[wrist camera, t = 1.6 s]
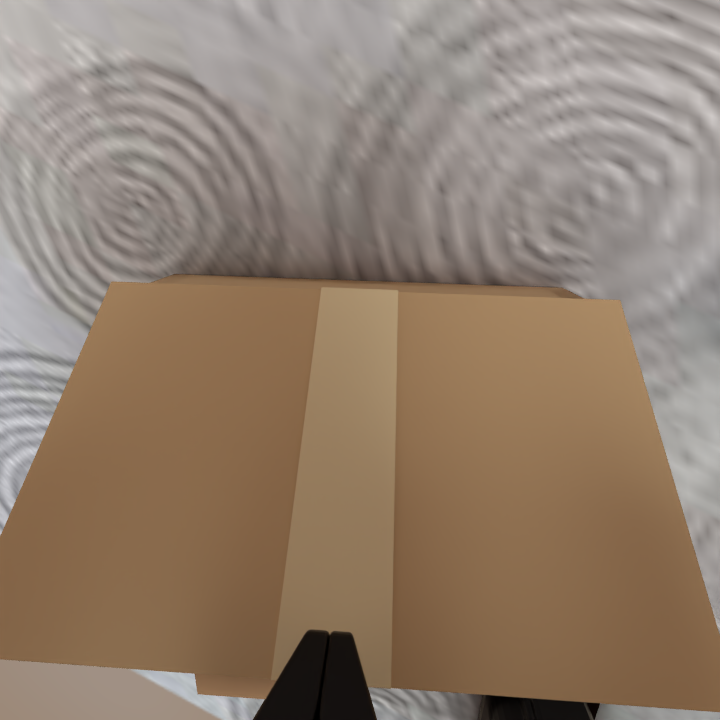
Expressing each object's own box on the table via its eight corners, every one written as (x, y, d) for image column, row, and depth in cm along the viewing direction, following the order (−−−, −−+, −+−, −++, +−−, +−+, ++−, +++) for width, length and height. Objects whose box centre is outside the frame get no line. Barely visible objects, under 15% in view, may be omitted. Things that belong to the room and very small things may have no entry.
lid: (720, 707, 9) (746, 714, 8) (-29, 652, 10) (-56, 655, 9) (610, 311, 14) (621, 297, 13) (120, 293, 15) (109, 279, 14)
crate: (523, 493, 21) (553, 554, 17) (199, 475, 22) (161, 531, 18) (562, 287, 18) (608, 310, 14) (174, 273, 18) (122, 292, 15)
